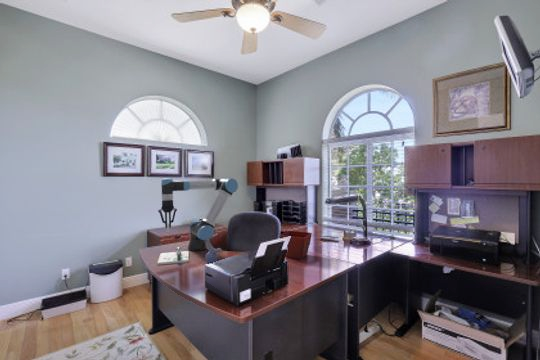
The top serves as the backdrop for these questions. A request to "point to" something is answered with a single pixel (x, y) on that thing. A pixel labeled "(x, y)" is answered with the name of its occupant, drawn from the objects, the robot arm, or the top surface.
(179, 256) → the ball-tipped lever
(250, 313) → the top surface
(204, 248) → the robot arm
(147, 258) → the top surface
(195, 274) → the top surface
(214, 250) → the seal
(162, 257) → the dial board
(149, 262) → the top surface
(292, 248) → the plant pot
